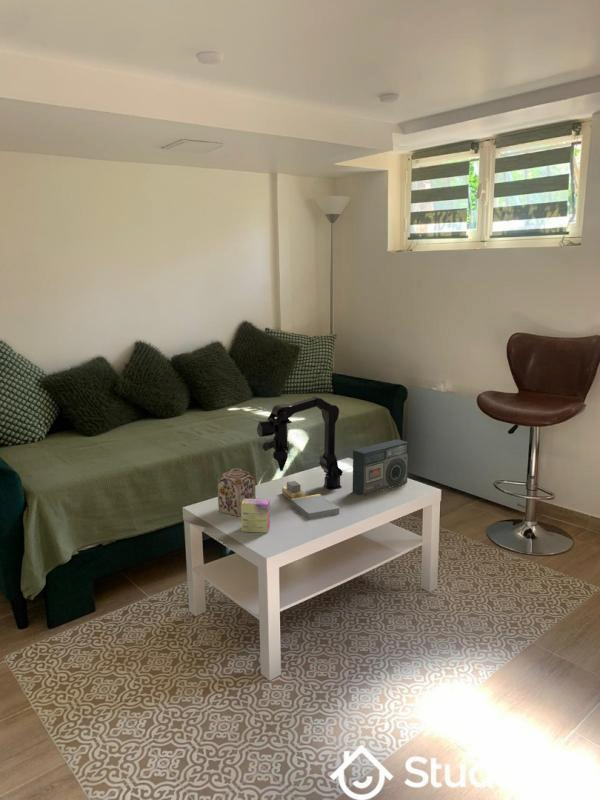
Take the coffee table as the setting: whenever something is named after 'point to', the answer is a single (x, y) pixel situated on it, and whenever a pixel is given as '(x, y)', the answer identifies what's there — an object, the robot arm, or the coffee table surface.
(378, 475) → the cassette player
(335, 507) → the dock
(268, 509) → the box
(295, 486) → the gray rectangular block
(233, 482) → the decorative jar
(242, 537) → the coffee table surface
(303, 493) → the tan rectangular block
